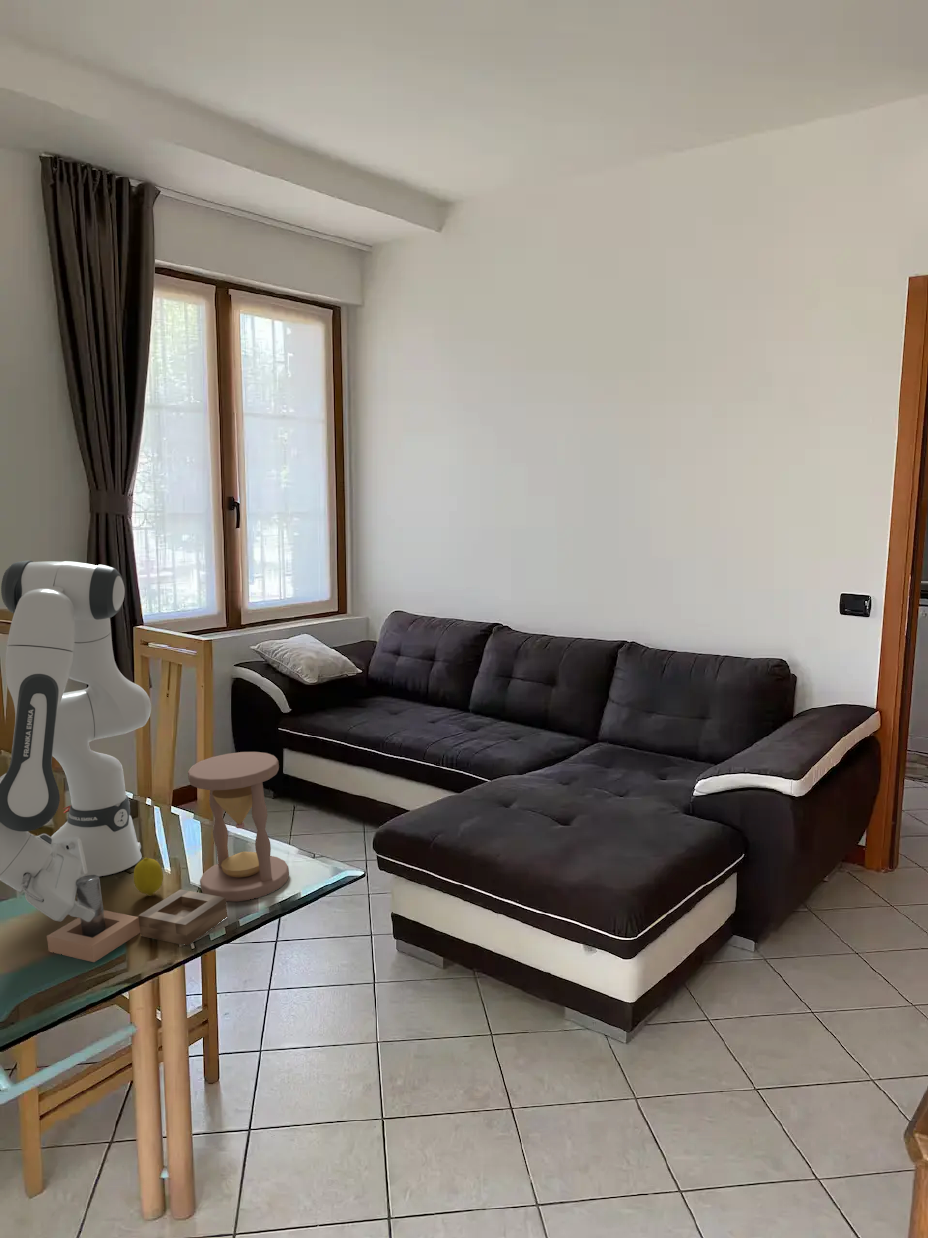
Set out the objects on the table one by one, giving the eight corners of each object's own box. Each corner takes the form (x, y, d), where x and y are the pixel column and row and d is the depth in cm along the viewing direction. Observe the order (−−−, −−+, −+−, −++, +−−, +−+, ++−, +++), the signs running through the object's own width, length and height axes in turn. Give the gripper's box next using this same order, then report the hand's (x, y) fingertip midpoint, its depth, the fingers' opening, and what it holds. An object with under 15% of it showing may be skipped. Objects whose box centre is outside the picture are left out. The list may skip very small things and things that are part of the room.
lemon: (164, 898, 184) (160, 860, 183) (135, 904, 183) (130, 865, 181) (165, 887, 189) (160, 850, 188) (136, 892, 188) (132, 854, 187)
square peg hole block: (140, 936, 170) (138, 915, 169) (182, 908, 179) (180, 889, 179) (187, 946, 165) (185, 925, 164) (227, 917, 175) (225, 897, 174)
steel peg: (78, 945, 167) (70, 883, 166) (95, 935, 171) (87, 873, 169) (95, 949, 166) (86, 886, 164) (112, 938, 169) (104, 876, 167)
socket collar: (48, 951, 166) (46, 936, 165) (96, 923, 176) (94, 908, 175) (94, 962, 161) (91, 946, 161) (140, 932, 171) (138, 917, 170)
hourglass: (305, 881, 189) (294, 762, 184) (226, 911, 177) (213, 786, 173) (262, 857, 202) (251, 746, 198) (186, 884, 190) (172, 767, 186)
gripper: (32, 873, 153) (102, 917, 158) (46, 830, 173) (109, 869, 177) (6, 904, 153) (77, 946, 157) (23, 857, 172) (86, 896, 177)
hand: (94, 905), depth 167 cm, fingers open, 8 cm apart
